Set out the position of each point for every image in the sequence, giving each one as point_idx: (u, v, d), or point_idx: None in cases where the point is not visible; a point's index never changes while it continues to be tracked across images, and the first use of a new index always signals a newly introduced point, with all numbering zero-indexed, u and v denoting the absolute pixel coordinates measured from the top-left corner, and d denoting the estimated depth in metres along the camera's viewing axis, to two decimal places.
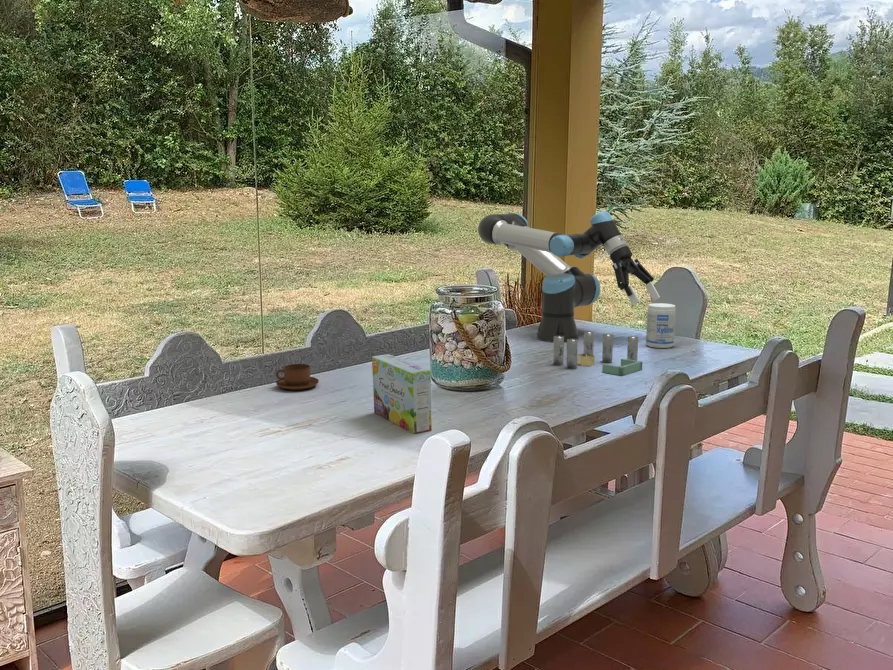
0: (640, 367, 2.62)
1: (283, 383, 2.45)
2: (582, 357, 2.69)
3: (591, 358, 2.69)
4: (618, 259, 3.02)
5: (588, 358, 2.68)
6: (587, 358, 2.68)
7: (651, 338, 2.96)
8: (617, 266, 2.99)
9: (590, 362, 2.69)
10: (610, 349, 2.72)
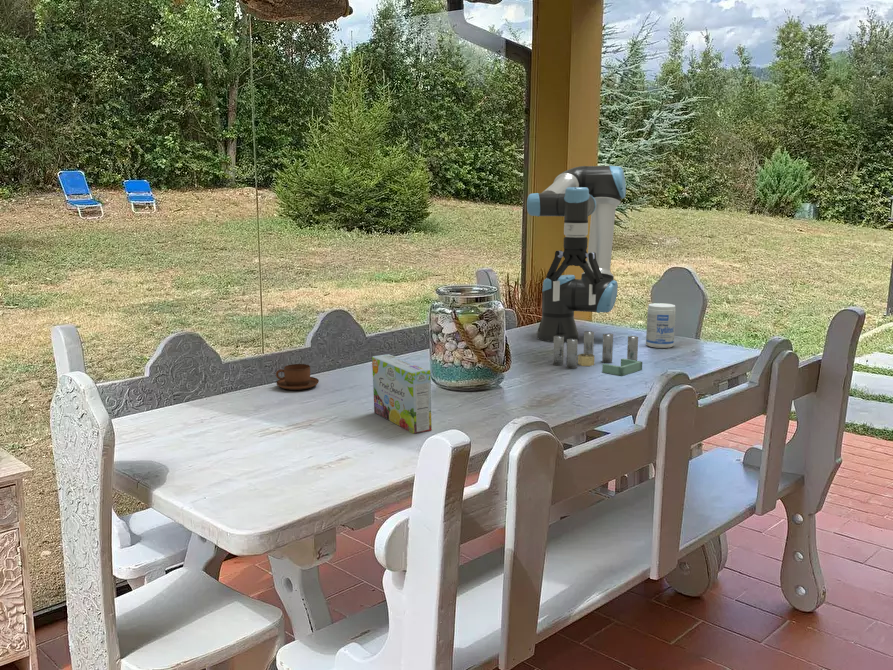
0: (640, 367, 2.62)
1: (283, 383, 2.45)
2: (582, 357, 2.69)
3: (591, 358, 2.69)
4: None
5: (588, 358, 2.68)
6: (587, 358, 2.68)
7: (651, 338, 2.96)
8: None
9: (590, 362, 2.69)
10: (610, 349, 2.72)
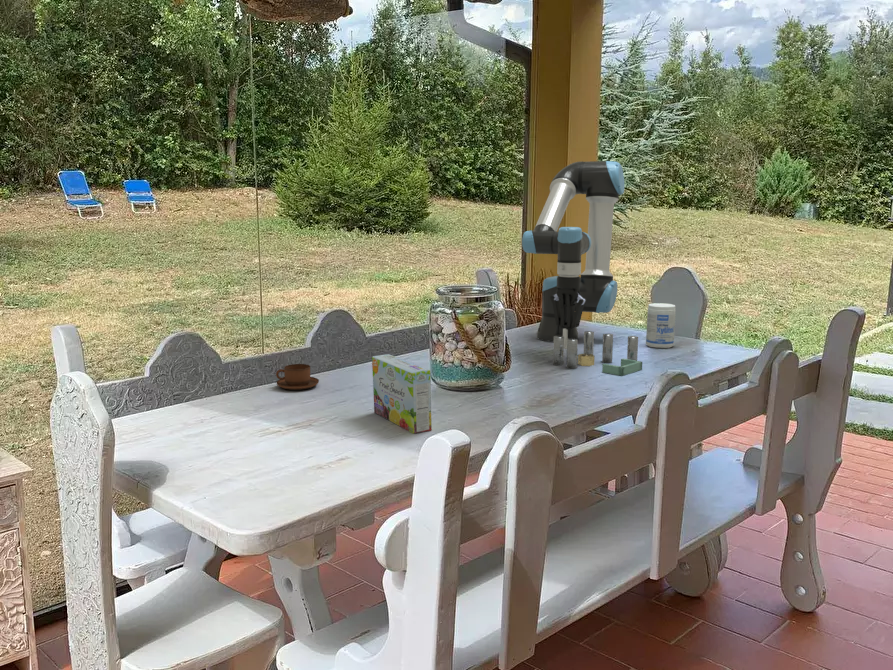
0: (640, 367, 2.62)
1: (283, 383, 2.45)
2: (582, 357, 2.69)
3: (591, 358, 2.69)
4: None
5: (588, 358, 2.68)
6: (587, 358, 2.68)
7: (651, 338, 2.96)
8: None
9: (590, 362, 2.69)
10: (610, 349, 2.72)
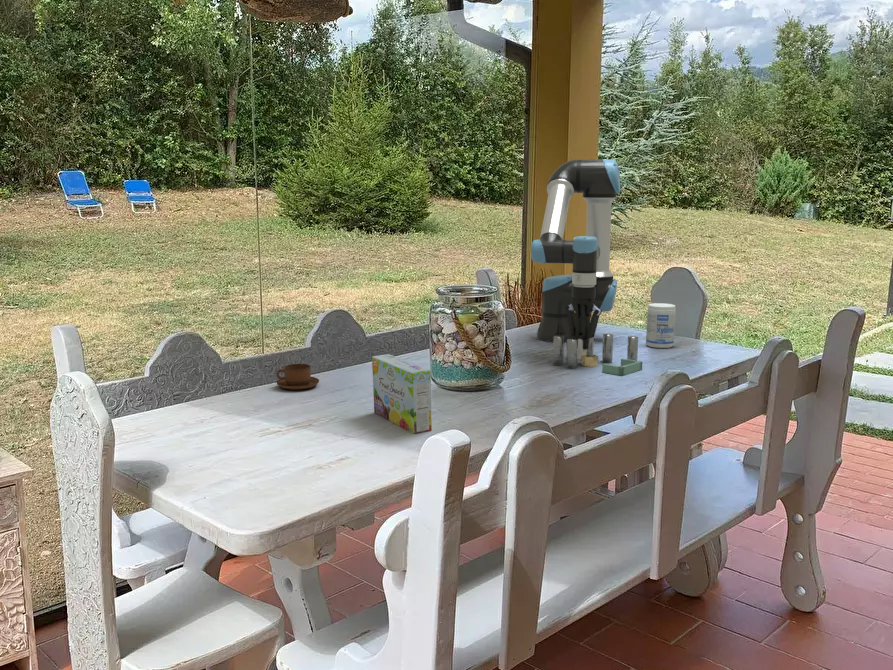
0: (640, 367, 2.62)
1: (283, 383, 2.45)
2: (586, 358, 2.67)
3: (595, 359, 2.68)
4: None
5: (592, 359, 2.67)
6: (591, 359, 2.67)
7: (651, 338, 2.96)
8: None
9: (594, 363, 2.67)
10: (610, 349, 2.72)
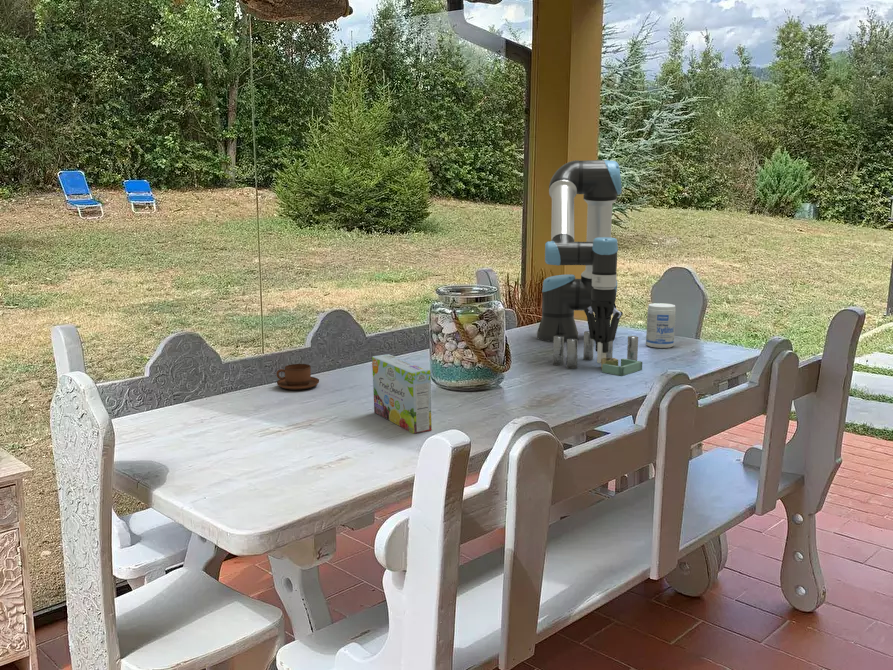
0: (640, 367, 2.62)
1: (284, 383, 2.45)
2: (606, 361, 2.62)
3: (615, 362, 2.63)
4: None
5: (612, 362, 2.62)
6: (611, 362, 2.62)
7: (651, 338, 2.96)
8: None
9: None
10: (610, 349, 2.72)
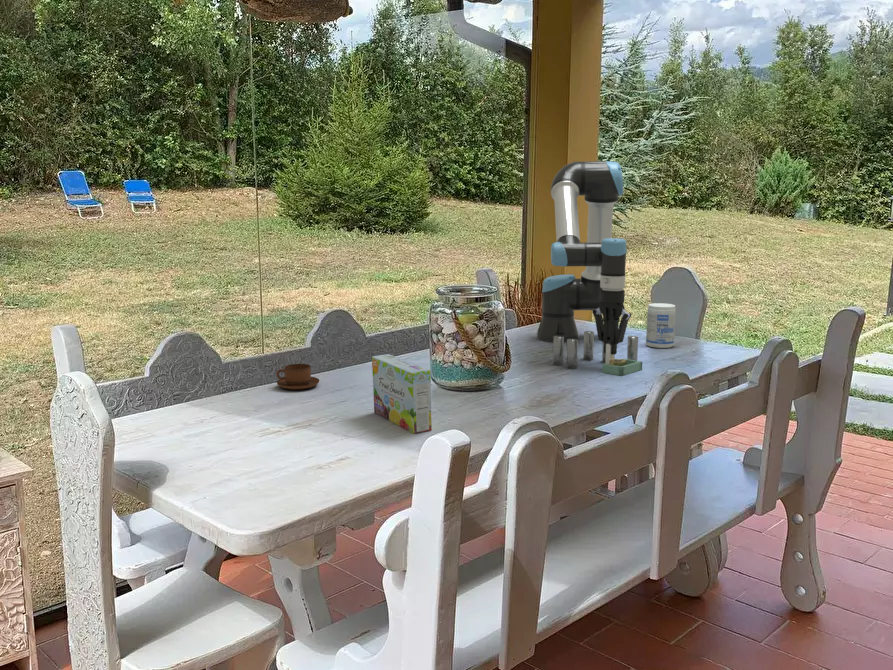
0: (640, 367, 2.62)
1: (284, 383, 2.45)
2: (614, 363, 2.60)
3: (623, 364, 2.61)
4: None
5: (620, 364, 2.60)
6: (619, 364, 2.60)
7: (651, 338, 2.96)
8: None
9: None
10: None
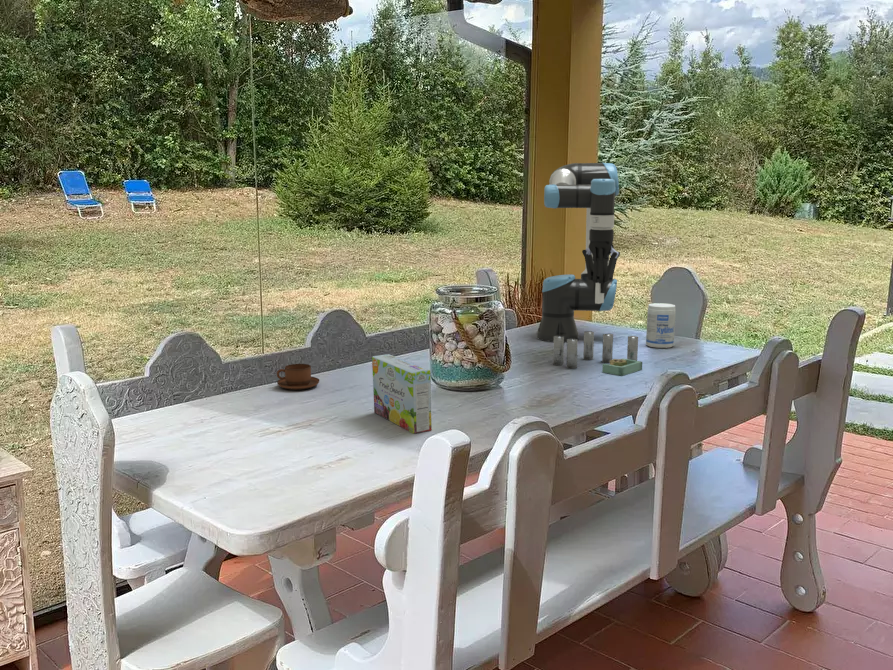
0: (640, 367, 2.62)
1: (284, 383, 2.45)
2: (614, 363, 2.60)
3: (624, 364, 2.61)
4: None
5: (621, 364, 2.60)
6: (619, 364, 2.60)
7: (651, 338, 2.96)
8: None
9: None
10: (610, 349, 2.72)
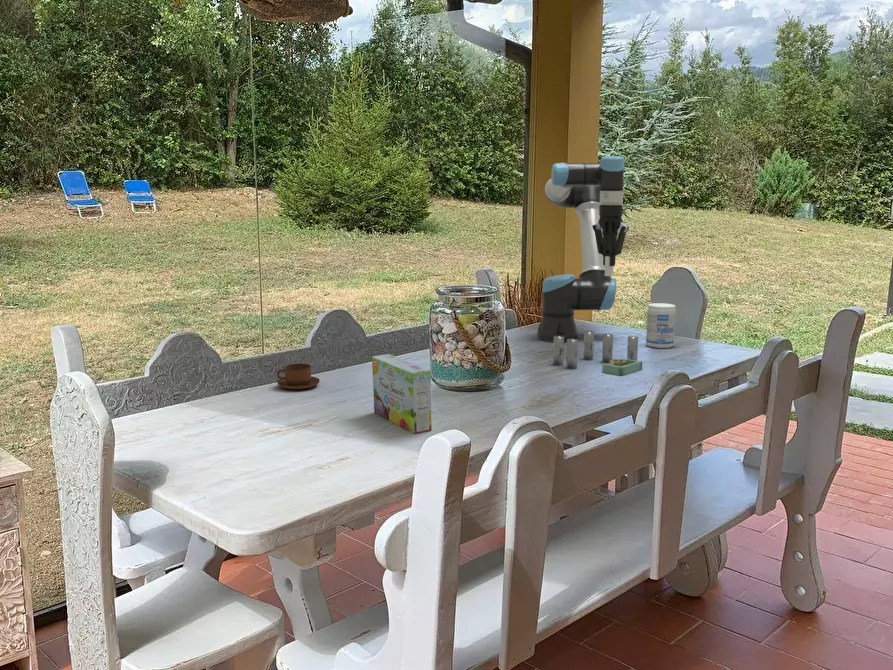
0: (640, 367, 2.62)
1: (284, 383, 2.45)
2: (614, 363, 2.60)
3: (624, 364, 2.61)
4: None
5: (621, 364, 2.60)
6: (619, 364, 2.60)
7: (651, 338, 2.96)
8: None
9: None
10: (610, 349, 2.72)
